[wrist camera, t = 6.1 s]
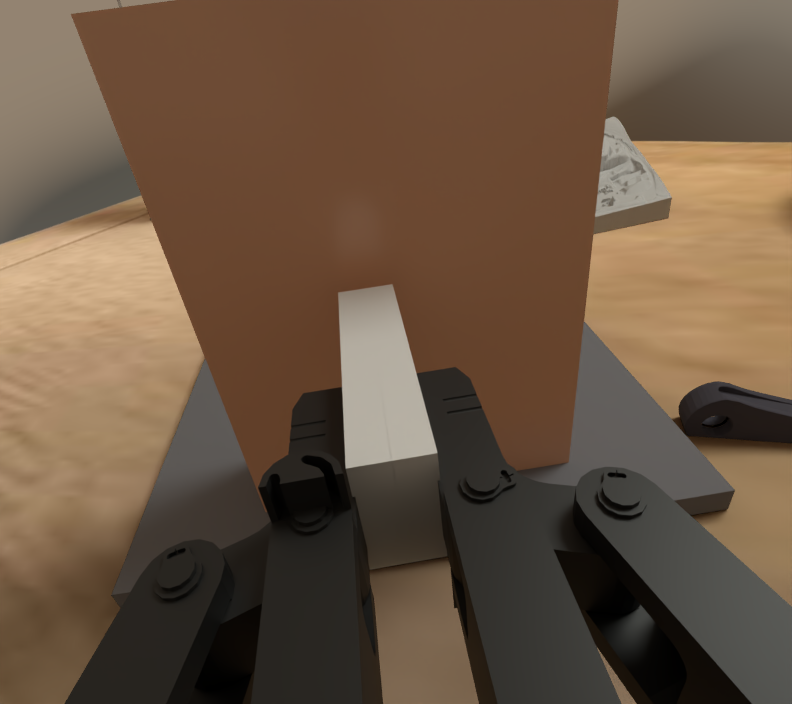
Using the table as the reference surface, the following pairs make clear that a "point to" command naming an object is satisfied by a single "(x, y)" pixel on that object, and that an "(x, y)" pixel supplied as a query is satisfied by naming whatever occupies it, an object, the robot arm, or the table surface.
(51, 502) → the table surface
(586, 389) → the mat
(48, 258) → the table surface
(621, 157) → the ramp
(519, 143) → the tile
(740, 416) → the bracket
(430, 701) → the table surface
